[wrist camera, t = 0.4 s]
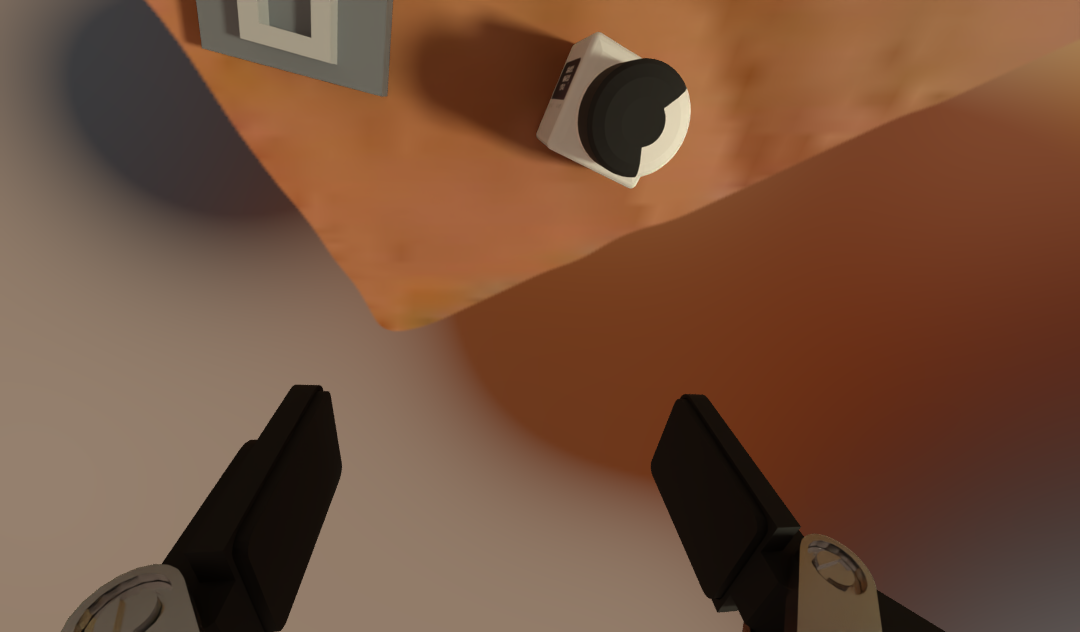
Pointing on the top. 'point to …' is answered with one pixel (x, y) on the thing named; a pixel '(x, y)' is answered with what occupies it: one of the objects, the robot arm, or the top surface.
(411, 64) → the top surface
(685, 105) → the container
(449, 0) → the top surface
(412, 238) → the top surface
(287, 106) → the top surface
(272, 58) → the console
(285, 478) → the robot arm
